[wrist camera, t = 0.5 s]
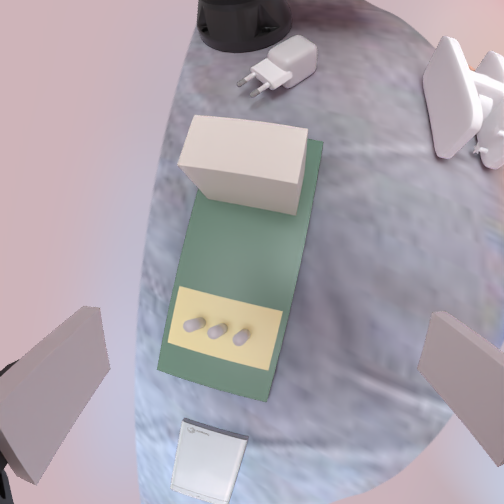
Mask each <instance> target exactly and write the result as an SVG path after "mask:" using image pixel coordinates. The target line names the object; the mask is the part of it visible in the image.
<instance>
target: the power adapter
mask: <svg viewBox="0 0 504 504" xmlns="http://www.w3.org/2000/svg"><path fill="white" fill-rule="evenodd" d="M316 67H317V47H316V45H315V44H314V43H312V42H311V41H309V40H308V39H306V38H305V37H303V36H301V35H294V36H292V37H290V38H288V39H286V40H284V41H283V42H281V43H279V44H277V45H276V46H274V47H273V48H271V49H270V50H269V52H268V57H267V58H266V59H264V60H262V61H261V62H259V63H258V64H256V65H254V66H253V67H251V68H250V71H251V74H250V75H248V76H247V77H245V78H243V79H242V80H240V81H239V82H237V86H238V87H241V86H242V85H244V84H245V83H247V82H248V81H249V80H251V79H252V78H254V77H256V78H257V79H258V80H259V81H261V82H262V83H263V85H262V86H261V87H259V88H258V89H256V90H254V91H253V92H251V93H250V97H251V98H254V97H255V96H257V95H258V94H260V93H261V92H262V91H264V90H265V89H267V88H270V89H271V90H275V89H276V88H278V87H279V86H281V85H282V86H284V87H285V88H291V87H293V86H295V85H296V84H298V83H299V82H301V81H302V80H304V79H306V78H307V77H309V76H310V75H311V74H313V73H314V71H315V70H316Z"/></svg>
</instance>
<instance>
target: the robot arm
mask: <svg viewBox="0 0 504 504" xmlns="http://www.w3.org/2000/svg"><path fill="white" fill-rule="evenodd" d="M291 25H292V18H291V10H290V7H289V5H288V4H287V2H286V0H199V2H198V14H197V28H198V31H199V34H200V36H201V39H202V40H203V41H204V42H205V43H206V44H207V45H208V46H210V47H212V48H214V49H217V50H221V51H226V52H247V51H253V50H258V49H261V48H265V47H267V46H270V45H272V44H274V43H276V42H278V41H279V40H281V39H282V38H283V37H284V36H285V35H286V34H287V33H288V32H289V30H290V28H291ZM417 369H418V371H419V372H420V373H421V374H422V375H423V376H424V378H425V379H426V380H427V381H428V382H429V383H430V384H431V386H432V387H433V388H434V389H435V390H436V391H437V393H438V394H439V395H440V396H441V397H442V399H443V400H444V401H445V402H446V403H447V404H448V406H449V407H450V408H451V409H452V410H453V412H454V413H455V414H456V415H457V416H458V418H459V419H460V420H461V421H462V422H463V424H464V425H465V426H466V427H467V428H468V430H469V431H470V432H471V434H472V435H473V436H474V437H475V439H476V440H477V441H478V442H479V444H480V445H481V446H482V447H483V449H484V450H485V451H486V452H487V454H488V455H489V456H490V458H491V459H492V460H493V461H494V462H495V464H496V465H497V467H499V466H501V465H503V464H504V353H503V352H502V351H501V350H499V349H498V348H497V347H495V346H494V345H493V344H491V343H490V342H489V341H487V340H486V339H484V338H483V337H482V336H480V335H479V334H478V333H476V332H475V331H473V330H472V329H470V328H469V327H468V326H466V325H465V324H463V323H462V322H461V321H459V320H458V319H456V318H455V317H453V316H452V315H450V314H449V313H448V312H446V311H440V312H432V315H431V319H430V323H429V327H428V332H427V335H426V339H425V343H424V347H423V350H422V354H421V357H420V361H419V364H418V367H417ZM109 370H110V364H109V360H108V355H107V349H106V344H105V338H104V332H103V326H102V320H101V313H100V308H97V307H87V306H83V307H81V308H80V309H79V310H78V311H77V312H75V313H74V314H73V315H72V316H70V317H69V318H68V319H67V320H65V321H64V322H63V323H62V324H61V325H59V326H58V327H57V328H56V329H55V330H54V331H52V332H51V333H50V334H49V335H47V336H46V337H45V338H44V339H43V340H42V341H40V342H39V343H38V344H37V345H36V346H35V347H33V348H32V349H31V350H30V351H29V352H28V353H27V354H25V355H24V356H23V357H22V358H21V359H20V360H17V361H15V362H13V363H11V364H9V365H7V366H6V367H5V368H4V369H3V370H2V371H0V504H14V503H13V499H12V495H11V490H10V485H9V481H8V477H7V475H6V472H5V471H4V468H5V466H6V465H7V463H8V464H9V465H10V467H11V469H12V470H13V471H14V473H15V474H16V475H17V476H18V477H20V478H22V479H24V480H26V481H28V482H30V483H32V484H34V485H37V484H38V482H39V480H40V479H41V477H42V475H43V474H44V472H45V470H46V469H47V467H48V465H49V464H50V462H51V460H52V458H53V457H54V455H55V454H56V452H57V450H58V449H59V447H60V445H61V444H62V442H63V440H64V439H65V437H66V436H67V434H68V433H69V431H70V429H71V428H72V426H73V425H74V423H75V422H76V420H77V418H78V417H79V415H80V414H81V412H82V411H83V409H84V408H85V406H86V405H87V403H88V401H89V400H90V398H91V397H92V395H93V394H94V392H95V391H96V389H97V388H98V386H99V385H100V383H101V382H102V380H103V379H104V377H105V376H106V374H107V373H108V372H109Z"/></svg>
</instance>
